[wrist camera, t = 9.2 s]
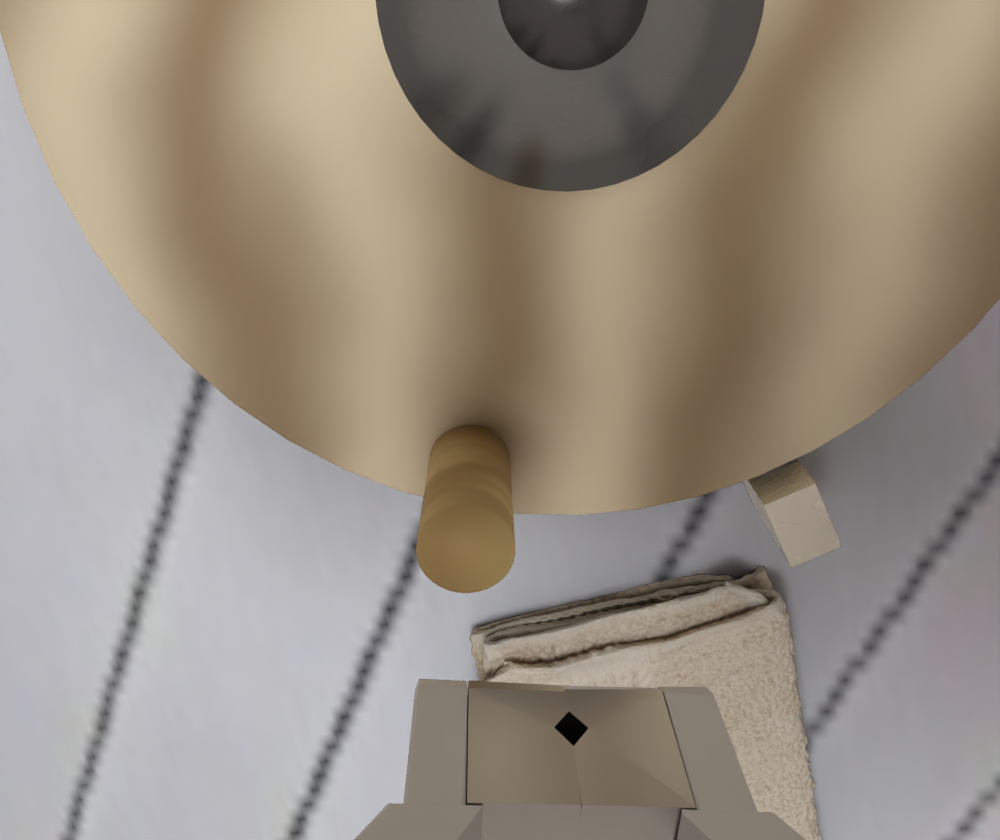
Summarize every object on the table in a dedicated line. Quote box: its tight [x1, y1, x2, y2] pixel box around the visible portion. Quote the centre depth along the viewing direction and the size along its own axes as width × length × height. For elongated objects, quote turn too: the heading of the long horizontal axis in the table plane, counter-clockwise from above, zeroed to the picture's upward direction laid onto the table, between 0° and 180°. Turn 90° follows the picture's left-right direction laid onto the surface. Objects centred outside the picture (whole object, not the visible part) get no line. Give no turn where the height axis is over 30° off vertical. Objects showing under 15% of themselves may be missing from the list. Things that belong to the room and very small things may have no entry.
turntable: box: [0, 0, 1000, 593], centre depth 19 cm, size 28×28×6 cm
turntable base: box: [743, 459, 841, 568], centre depth 22 cm, size 26×26×4 cm
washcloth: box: [470, 566, 822, 840], centre depth 33 cm, size 12×18×3 cm, turn 16°
